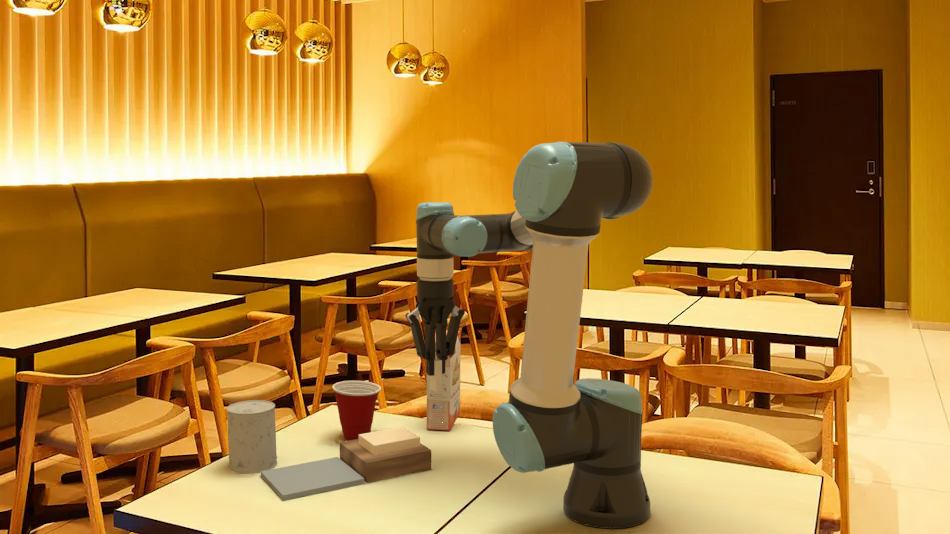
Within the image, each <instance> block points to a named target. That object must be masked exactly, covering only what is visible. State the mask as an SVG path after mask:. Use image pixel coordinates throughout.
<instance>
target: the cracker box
mask: <svg viewBox="0 0 950 534" xmlns="http://www.w3.org/2000/svg"><path fill="white" fill-rule="evenodd" d="M447 331H448V329H446V336H447ZM461 345H462V343H461V330H459V331H458V336H457V340H456V345H455V350H454V354H453V355H449V356H448V359H447V360H445V374H442V391H438V392H435V391H433V390H431V389H430V376H429V375H427V374H426V430H433V431H447V432H449V431H451V429H452V428H453V426H454V424H455V423H456V421H457V420H458V417H459V416H460V414H461ZM435 358H437V356H436V332H435ZM442 422H443V423H442Z"/></svg>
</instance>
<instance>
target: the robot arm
mask: <svg viewBox="0 0 950 534" xmlns="http://www.w3.org/2000/svg"><path fill="white" fill-rule="evenodd" d="M653 185H654V178H653V172H652V169H651V166H650V163H649V161H648V160H647V158H646V157H645V156H644V155H643V154H642V153H641V152H640V151H638V150H637V149H636V148H635V147H632V146H630V145H628V144H624V143H621V142H609V141H608V142H581V141H580V142H578V141H575V142H574V141H573V142H572V141H556V142H546V143H538V144H537V145H534V146H532V147H531V148H530V149H529V150H528V151H527V152H526V153H525V154H524V155H523V156H522V158H521V159H520V160H519V163H518V164H517V167H516V170H515V174H514V177H513V182H512V197H513V200H514V201H515V202H514V207H515V210H514V211H512V212H508V213H497V214H494V213H492V214H470V215H469V214H468V215H467V214H466V215H456V214H455V213H454V206H453V204H452V203H451V202H443V201H442V202H441V201H438V202H437V201H433V202H432V201H429V202H428V201H427V202H426V201H425V202H421V203H419V204H418V205H417V207H416V217H415V218H416V219H415V225H416V227H415V229H416V230H415V231H416V276H417V277H418V279H417V280H416V296H417V302H416V304H415V309H413V310H412V311H411V312H406V314H405V318H406V320H407V322H408V323H409V326H410V330H411V335H412V339H413V343H414V348H415V351H416V354H417V355H416V356H418V357H419V358H421V359H424V360H425V369H426V370H425V372H426V376H427V375H429V376H430V389H431V390H433V391H435V392H438V391H442V374H445V360H447V359H448V356H449V355H453V354H454V350H455V345H456V340H457V336H458V331H460V325H461V321H462V319H463V317H464V315H465V313H466V311H465V310H464V309H463V308H460V307H458V306H457V305H456V304H455V300H454V298H453V297H454V294H455V293H454V287H455V286H454V285H455V283H454V279H453V276H454V274H455V273H454V272H455V271H454V264H455V263H454V256H457V257H461V258H462V257H467V258H468V257H469V258H470V257H475V256H476V255H479V254H489V253H498V252H515V251H516V252H518V251H519V252H520V251H521V252H527V251H530V250H531V251H532V253H531V264H530V273H529V282H528V283H529V285H528V292H527V293H528V295H527V304H526V315H525V327H524V337H523V345H522V346H523V347H522V358H521V366H520V367H521V368H520V376H519V378H518V379H516V380H515V381H513V382H512V383H511V385H510V386H509V396H508V402H501V404H498V405H497V406H496V408H494V411H493V413H492V431H493V436H494V440H495V442H496V446H497V448H498V451H499V454H500V455H501V456H502V458H503V460H504V461H505V463H507V465H508V466H509V467H510V468H511V469H513V470H514V471H516V472H519V473H524V474H525V473H530V472H543V471H544V470H547V469H548V470H549V469H552V468H557V467H562V466H567V465H571V464H573V468H572V471H571V475H570V477H569V481H568V484H567V488H566V490H565V492H564V494H563V500H562V501H563V505H562V506H563V507H562V509H563V512H564V515H566V516H567V517H568V518H569V519H570V520H572V521H574V522H576V523H580V524H582V525H584V526H590V527H594V528H601V529H623V528H631V527H634V526H635V527H636V526H638V525H640V524H643V523H644V522H645V521H647V520H648V519H650V516H651V499H650V496H649V495H648V490H647V487H646V483H645V480H644V477H643V473H642V469H641V468H642V466H641V465H642V461H641V460H642V428H643V423H642V422H643V414H644V412H643V403H642V402H643V401H642V394H641V392H640V391H639V389H637V388H636V387H634V386H633V385H630V384H628V383H624V382H621V381H615V380H611V379H605V378H604V379H602V378H592V377H591V378H586V377H585V378H579V379H578V380H576V381H575V382H574V376H575V375H574V374H575V366H576V358H577V357H576V356H577V348H578V340H579V331H580V324H581V323H580V322H581V321H580V320H581V313H582V303H583V295H584V286H585V278H586V269H587V268H586V267H587V262H588V261H587V260H588V252H589V244H590V243H591V242H592V241H593V240H594V239H596V238H597V237H598V236H599V235H600V233H601V225H602V219H603V220H608V221H609V220H616V219H618V218H621V217H624V216H627V215H630V214H633V213H634V212H636V211H639V210H640V209H641V208H642V207H643V206H644V205H645V204H646V203H647V201H648V200H649V198H650V195H651V194H652V190H653ZM450 315H451V316H450ZM420 317H421V319H422V320H423V326H424V333H423V330H422V325H421V323H420V320H421V319H420ZM449 317H450V318H449ZM448 319H449V323H448ZM446 330H448V331H447V336H446ZM435 333H436V356H437V358H435ZM573 382H574V383H573Z"/></svg>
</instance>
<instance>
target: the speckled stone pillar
mask: <svg viewBox="0 0 950 534" xmlns="http://www.w3.org/2000/svg"><path fill="white" fill-rule="evenodd" d="M226 414H227V415H226V416H227V421H226V422H227V438H228V439H227V441H228V443H227V444H228V463H229V464H228V469H229V471H231V472H233V473H236V474H244V475H248V474H249V475H250V474H261V471H266V470H271V469H275V467H276V466H278V460H277V457H278V456H277V433H276V404H275V403H274V402H273V401H271V400H263V399H252V400H249V399H248V400H243V401H237V402H235V403H231V404H229V405H228V406H227V407H226Z"/></svg>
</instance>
